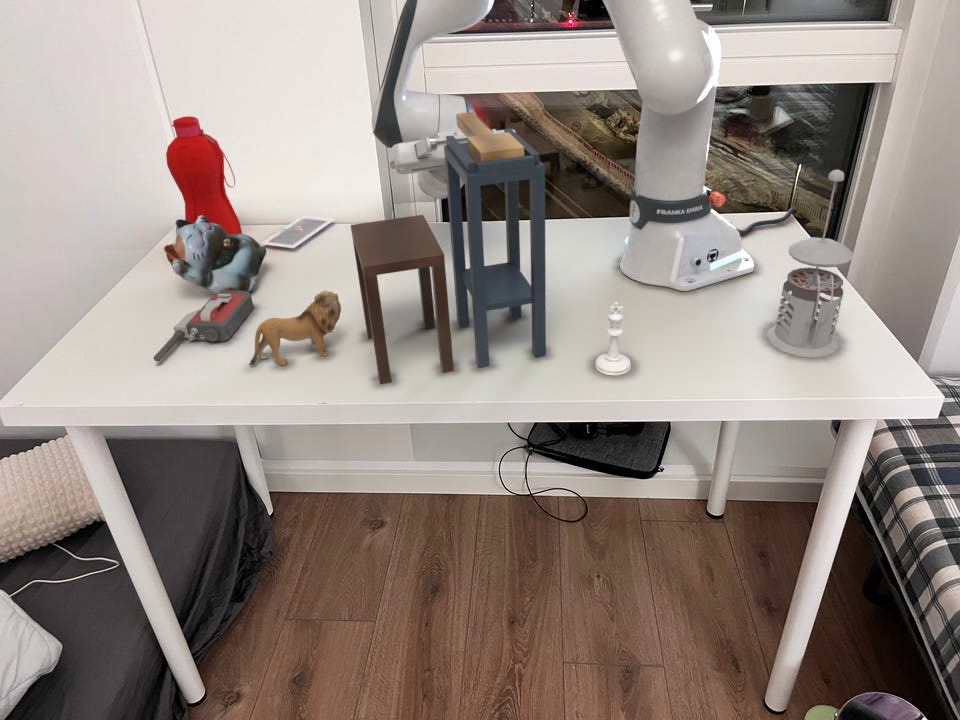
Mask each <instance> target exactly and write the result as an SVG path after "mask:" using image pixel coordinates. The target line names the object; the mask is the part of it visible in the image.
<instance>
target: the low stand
mask: <svg viewBox="0 0 960 720" xmlns="http://www.w3.org/2000/svg"><path fill="white" fill-rule="evenodd" d="M350 231H351V237H352V238H351V239H352V244H353V250H354V257H355V264H356V265H355V266H356V270H357V277H358V285H359V290H360V291H359V292H360V297H361V303H362V310H363V317H364V323H365V331H366V335H367V336H366V337H367V339H368V340H371V339H372V342H373V350H374V356H375V363H376V369H377V377H378V381H379V384H380V385H383V384H390V383H392V376H391V369H390V368H391V367H390V362H389V361H390V360H389V354H388V353H389V352H388V347H387V346H388V345H387V339H386V332H385V324H384V317H383V316H384V315H383V310H382V309H383V308H382V302H381V296H380V295H381V293H380V287H379V280H378V276H381V275H387V274H393V273H400V272H406V271H411V270H412V271H413V270H417V275H418V283H419V284H418V285H419V293H420V304H421V312H422V322H423V327H424V329H425V330H429V329H434V328H436V331H437V332H436V333H437V334H436V335H437V343H438V354H439V365H440V369H441V372H442V374H443V373H450V372H454V370H455V367H454V356H453V344H452V343H453V342H452V333H451V320H450V307H449V295H448V283H447V272H446V271H447V270H446V259H445V252H444V251H443V250H442V248H441V247H442V246H441V245H440V244H439V242H438V240H437V238H436V237H435V234H434V233H433V230H432V228H431V227H430V225H429V223H428V221H427V220H426V217H425V215H424V214H418V215H411V216H405V217H404V216H403V217H397V218H390V219H383V220H377V221H370V222H363V223H355V224H351V225H350Z"/></svg>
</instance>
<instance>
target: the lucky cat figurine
mask: <svg viewBox="0 0 960 720" xmlns="http://www.w3.org/2000/svg"><path fill="white" fill-rule="evenodd" d="M175 225H176V226H175V238H174V239H175V240H174V241H173V242H172V243H170V244H166V245H165V246H164V247H163V251H164V253H166V254H165V255H166V259H167V261H168V262H169V263H170V266H171V268H172V271H173V273H174V274H176V275H178V276H179V277H181V279H183V280H185V281H188V282H190V283H192V284H193V285H197V286H199V287H201V288H203V289H206V290H208V291H209V292H212V293H214V294H216V293H218V292H220V291H222V290H226V291H247V292H251V291H252V289H253V288H254V287H255V286H256V284H257V282H258V278H259V271H260V268H261V266H262V264H263V262H264V259H265V258H266V256H267V255H266V254H267V248H266V247H265V246H262V245H261V244H260V243H259V242H257V240H255V239H254V238H253V237H252V236H250V235H247V234H243V233H242V234H232V235H228V234H227V232H226V231H225V229H224V228H222V227H221V226H220V225H218V224H214V223H210V222H209V221H208V219H207V218H206V217H205V216H202V215H201V216H198V219H197V221H196V222H195V223H193V222H188V221H186V220H185V219H180V218H179V219H176V221H175Z"/></svg>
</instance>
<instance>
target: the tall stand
mask: <svg viewBox="0 0 960 720" xmlns="http://www.w3.org/2000/svg"><path fill="white" fill-rule="evenodd" d="M512 129H513V128H510V127H509V128H504V129H503V130H504V133H506V132H509V133H510V134H511V135H512V136H513V137H514V138H515V139H516V140H517V141H518V142H519V143H520V144H522V145H523V146H524V156H523V157H515V158H507V159H500V160H492V161H484V162H477V163H476V162H475V161H474V160H473V159H472V158H471V156H470V155H469V154H468V143H459V142H458V141H457V140H456V138H455V137H454V136H446V142H447V145H445V146H444V154H445V167H446V180H447V193H448V198H447V205H448V217H449V231H450V233H449V234H450V243H451V244H450V245H451V258H452V271H453V284H454V297H455V309H456V311H455V312H456V323H457V325H458V328H459V329H464V328H469V327H470V314H469V313H470V312H469V311H470V310H469V298H468V296H469V295H470V297H471V301H472V302H471V303H472V319H473V333H474V334H473V335H474V351H475V364H476V366H477V367H478V369H482V368H488V367H490V349H489V332H488V331H489V330H488V327H489V326H488V312H489V311H495V310H502V309H507V308H508V315H509V317H510V319H511V320H516V319H522V306H525V305H531V306H530V307H531V353H532V355H533V356H534V358H536V359H538V358H542V357H543V358H544V357H546V356H547V351H546V350H547V344H546V343H547V339H546V338H547V336H546V334H547V332H546V330H547V329H546V326H547V325H546V323H547V322H546V320H547V319H546V317H547V315H546V312H547V310H546V308H547V307H546V305H547V303H546V302H547V301H546V298H547V297H546V165H545V163H543V161H541V160H540V153H539V152H538V151H537V150H536V149H535V148H533V147H532V146H531V145H530V144H529V143H528V142H527V141H525V140H524V138H522V137H521V136H520V135H519V134H518V133H517V132H516V131H515V132H516V133H515V132H514V131H513V130H514V129H513V130H512ZM460 177H461V179H462V180H463V182H464V183H465V184H464V190H465V191H464V192H465V206H466V208H465V209H466V223H467V224H466V225H467V240H468V255H469V268H466V267H467V266H466V265H467V264H466V253H465V252H466V251H465V238H464V237H465V236H464V223H463V222H464V221H463V207H462V205H463V204H462V192H461V188H460ZM525 180H526V181H527V180H529V234H530V236H529V237H530V239H529V240H530V282H529V281H528V280H527V278H526V277H525V276H524V274H523V272H522V271H521V241H520V240H521V238H520V200H519V199H520V197H519V196H520V195H519V181H525ZM496 184H497V185H498V184H504V203H505V204H504V205H505V209H504V210H505V234H506V237H505V238H506V262H501V263H496V264H488V265H485V253H484V252H485V251H484V233H483V232H484V231H483V214H482V213H483V212H482V195H481V193H482V192H481V187H482V186H490V185H496ZM468 294H469V295H468Z"/></svg>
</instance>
